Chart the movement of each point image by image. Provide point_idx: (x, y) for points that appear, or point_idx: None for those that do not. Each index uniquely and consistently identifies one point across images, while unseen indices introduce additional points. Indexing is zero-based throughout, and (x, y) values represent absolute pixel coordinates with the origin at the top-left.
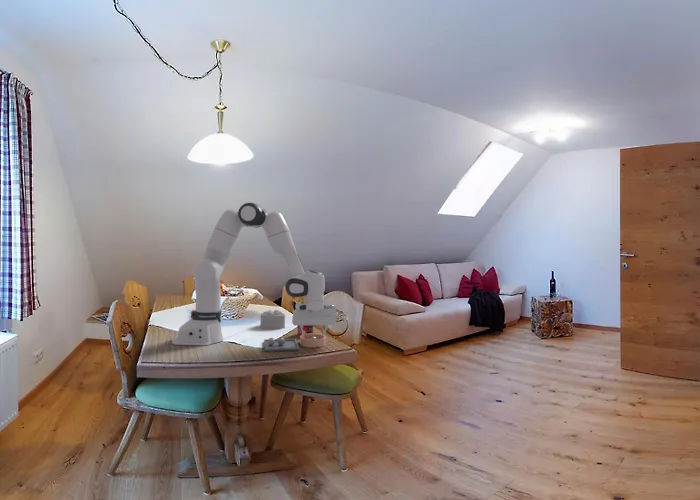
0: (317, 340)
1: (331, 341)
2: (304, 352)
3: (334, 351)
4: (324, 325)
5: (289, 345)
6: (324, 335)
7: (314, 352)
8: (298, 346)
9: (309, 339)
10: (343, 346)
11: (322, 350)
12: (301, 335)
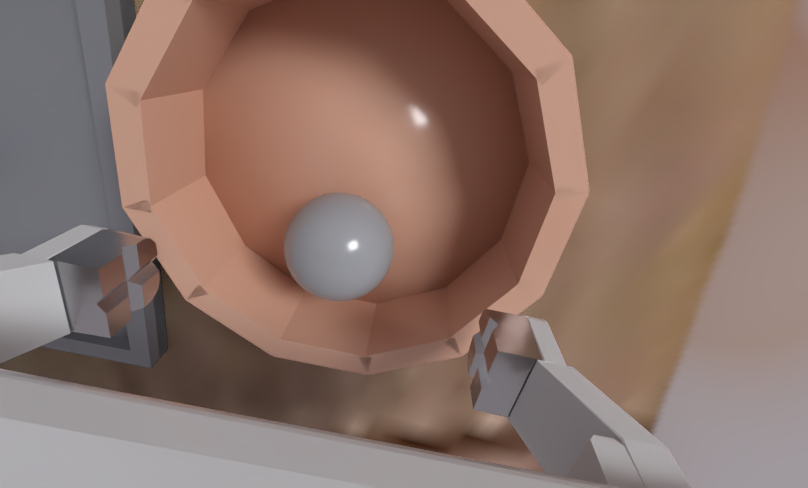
0: (358, 367)
1: (688, 121)
2: (213, 393)
3: (480, 444)
4: (591, 466)
5: (38, 198)
6: (581, 191)
7: (300, 416)
8: (142, 316)
9: (252, 324)
10: (663, 359)
11: (388, 396)
12: (136, 48)
